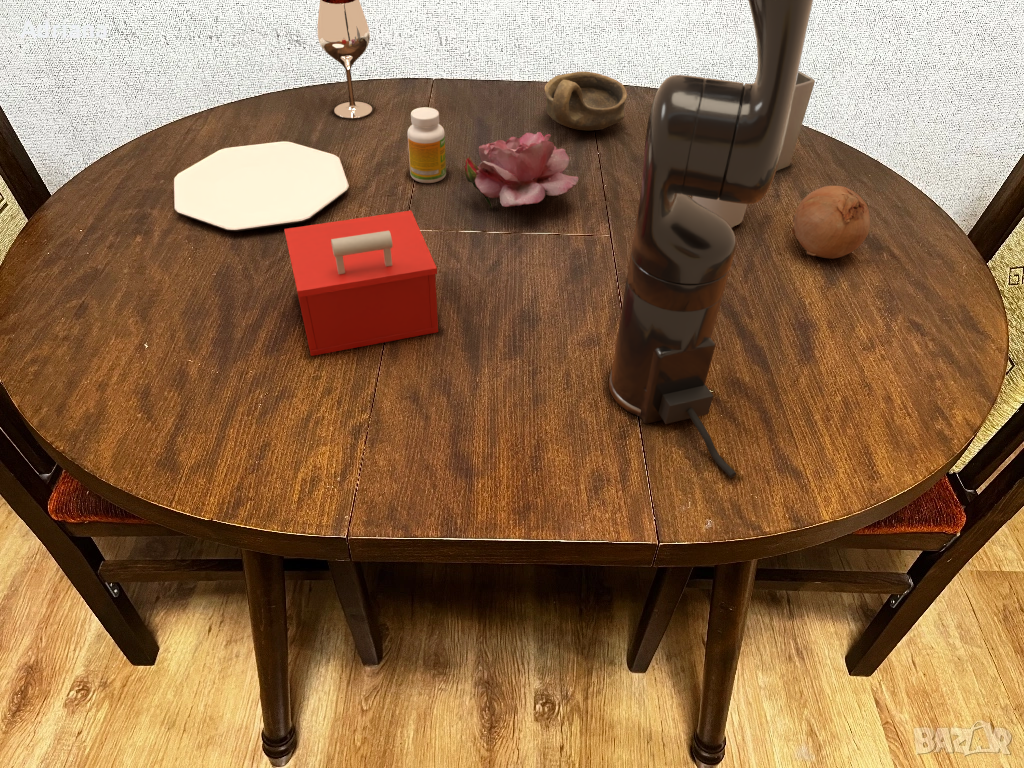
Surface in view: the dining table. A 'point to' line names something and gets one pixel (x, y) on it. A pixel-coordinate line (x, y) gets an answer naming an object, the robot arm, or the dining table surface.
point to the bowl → (585, 100)
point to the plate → (259, 186)
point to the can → (724, 209)
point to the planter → (796, 117)
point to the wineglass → (344, 45)
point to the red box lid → (358, 253)
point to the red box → (370, 314)
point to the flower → (520, 170)
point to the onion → (831, 222)
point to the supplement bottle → (426, 146)
